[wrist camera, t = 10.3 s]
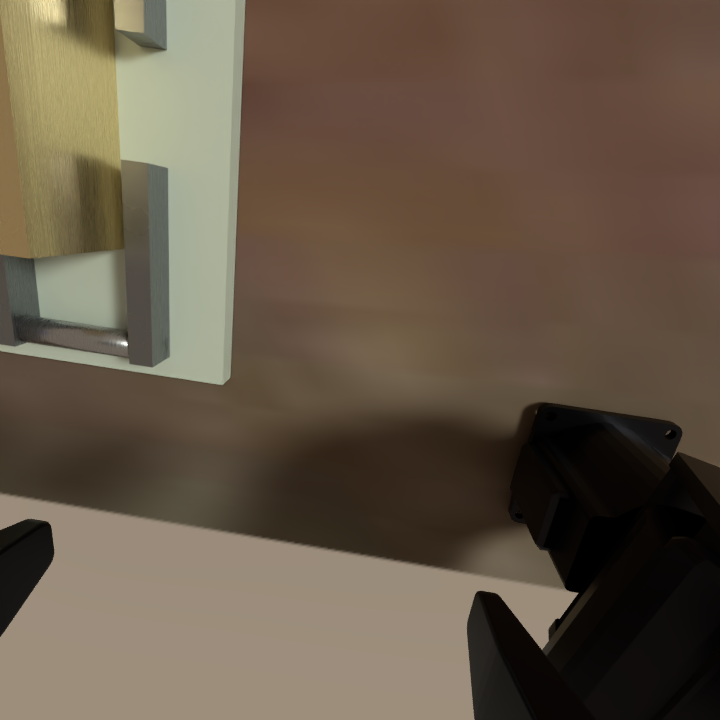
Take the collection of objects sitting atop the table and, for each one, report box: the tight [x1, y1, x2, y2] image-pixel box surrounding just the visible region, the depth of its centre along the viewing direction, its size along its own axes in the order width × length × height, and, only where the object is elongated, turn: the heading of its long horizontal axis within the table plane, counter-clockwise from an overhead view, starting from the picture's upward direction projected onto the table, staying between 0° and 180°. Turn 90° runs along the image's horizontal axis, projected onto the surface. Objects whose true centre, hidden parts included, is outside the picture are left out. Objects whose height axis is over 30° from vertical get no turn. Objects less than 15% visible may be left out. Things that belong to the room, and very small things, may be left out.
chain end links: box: [0, 0, 170, 368], centre depth 16 cm, size 7×20×2 cm, turn 172°
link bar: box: [0, 0, 125, 259], centre depth 14 cm, size 3×11×5 cm, turn 173°
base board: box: [0, 0, 245, 385], centre depth 17 cm, size 12×22×1 cm, turn 172°
